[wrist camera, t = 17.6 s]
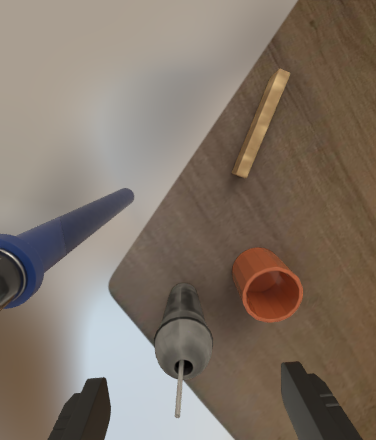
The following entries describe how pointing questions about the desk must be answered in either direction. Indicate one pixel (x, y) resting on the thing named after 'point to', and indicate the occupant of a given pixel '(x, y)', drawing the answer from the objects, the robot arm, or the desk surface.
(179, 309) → the beverage cup
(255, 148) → the wooden block
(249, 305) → the utensil cup
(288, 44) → the desk surface
